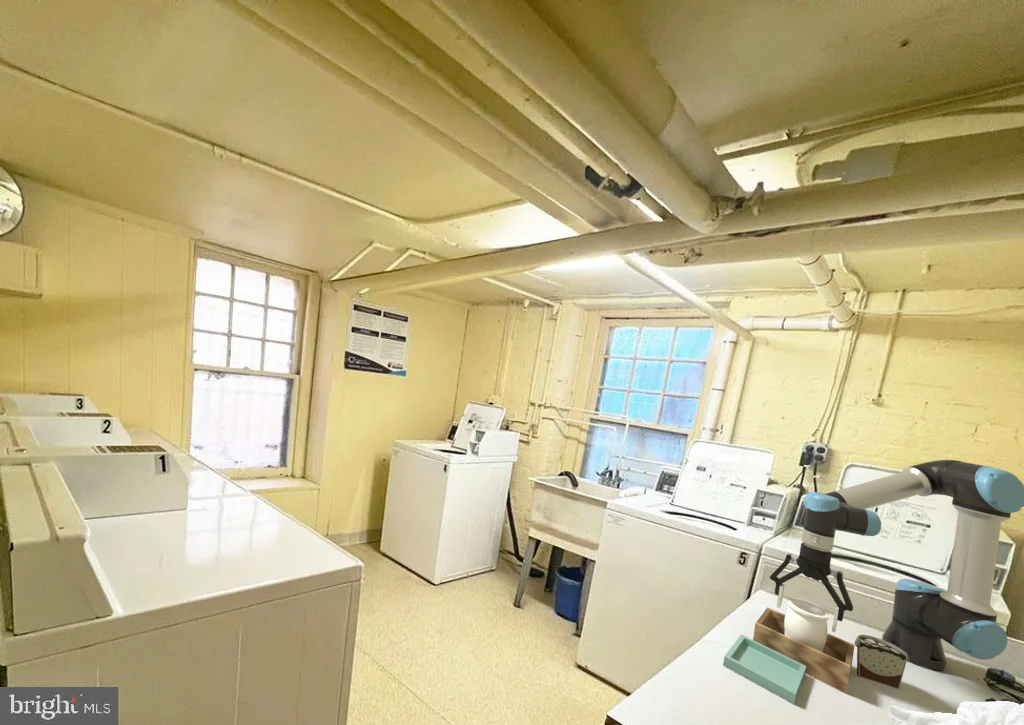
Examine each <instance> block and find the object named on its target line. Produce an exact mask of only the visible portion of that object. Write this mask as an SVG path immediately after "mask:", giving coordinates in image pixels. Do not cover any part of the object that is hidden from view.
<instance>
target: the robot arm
mask: <svg viewBox="0 0 1024 725" xmlns="http://www.w3.org/2000/svg"><path fill="white" fill-rule="evenodd" d="M932 495H939V496H946V497H951V498H952V502H951V506H952V507H953V508H954V509H955V510H956V511H957V519H956V527H955V533H954V534H955V535H954V541H953V549H952V554H951V561H950V569H949V576H948V582H947V584H948V585H947V589H946V590H945V589H944V588H941V587H939V586H936V585H934V584H930V583H927V582H923V581H919V580H915V579H909V578H899V579H898V580H897V584H896V588H895V590H894V599H893V608H892V609H893V610H892V618H891V621H890V623H889V624H888V626H887V627H886V629H885V630H884V632H883V633H882V637H881V639H882V640H884V641H886V642H889V643H891V644H893V645H895V646H896V647H898V648H900V649H901V650H903V651H904V652H906V653H907V654H908V657H909V663H910V662H911V663H913V664H915V665H916V666H917V665H918V666H920V667H923V668H926V667H927V669H929V668H931V669H930V670H933V669H936V670H935V671H944V670H943V669H945V668H946V669H947V658H946V657H947V656H946V654H945V651H944V648H943V642H942V640H943V641H945V642H946V643H948V644H949V645H951V646H953V647H954V648H955V649H956V650H958V651H960V652H962V653H964V654H966V655H968V656H970V657H972V658H974V659H977V660H983V661H984V660H991V659H994V658H996V657H997V656H1000V655H1002V654H1003V653H1004V651H1005V650H1006V648H1007V645H1008V640H1009V638H1008V635H1007V632H1006V631H1005V629H1004V628H1003V627H1002V626H1001V625H1000V624H998V623H997V618H998V617H997V616H998V613H997V611H996V610H995V609H994V608H993V607H992V605H991V599H992V592H993V588H994V587H993V586H994V578H995V571H996V564H997V556H998V549H999V548H998V547H999V541H1000V534H1001V527H1002V523H1003V522H1006V521H1008V520H1011V514H1013V513H1018V512H1019V511H1021V510H1022V508H1024V483H1023V482H1022V481H1021V480H1020V479H1019V478H1018V476H1016V475H1015V474H1013V473H1012V472H1010V471H1008V470H1005V469H1000V468H998V467H993V466H988V465H982V464H975V463H972V462H965V461H961V460H955V459H940V460H939V459H937V460H932V461H927V462H922V463H918V464H914V465H911V466H910V465H909V466H907V467H905V468H903V469H902V472H899V473H898V472H897V473H895V474H891V475H888V476H884V477H880V478H877V479H873V480H870V481H867V482H862V483H859V484H856V485H852V486H849V487H848V486H847V487H845V488H841V489H837V490H833V491H831V492H827V493H821V492H817V491H812V492H808V493H807V494H806V495H805V496H804V498H803V502H802V503H803V507H804V509H805V515H804V524H803V530H802V535H801V541H802V542H801V543H800V547H799V548H800V549H799V556H798V557H797V556H794V555H793V554H792V553H790V552H788V553H787V554H786V556H785V559H784V560H783V562H782V563H781V564H780V565H779V566H778V567H777V568H776V570H774V571H773V572H772V573H771V575H770V576H769V579H770V580H771V581H773V582H774V583H775V588H774V594H775V595H777V596H778V597H777V601H776V602H777V604H776V608H778V609H780V608H781V606H782V603H783V597H784V590H785V584H784V583H786V582H788V581H790V580H791V579H793V578H795V577H797V576H799V575H801V574H802V575H803V576H804V577H806V578H811V579H812V580H814V581H820V582H821V583H822V584H823V586H824V587H825V589H826V591H827V592H828V594H829V595H830V596H831V598H832V599H833V601H834V603H835V604H836V605H835V608H834V615H833V620H832V628H831V632H833V633H836V631H837V626H838V622H843V620H844V613H845V611H849V612H853V610H854V606H853V603H852V600H851V598H850V594H849V593H848V590H847V588H846V584H845V583H844V582H845V581H844V579H843V578H844V573H843V572H842V571H841V570H833V569H831V561H832V554H833V553H832V551H833V550H834V548H833V547H834V541H835V536H836V531H837V532H838V531H839V532H845V533H849V534H855V535H859V536H865V537H875V536H877V535H879V534H880V532H881V530H882V521H881V518H880V516H879V515H878V514H877V513H876V512H875V511H873V510H870V508H871V509H872V508H876V507H877V506H882V505H885V504H890V503H893V502H897V501H901V500H904V499H907V498H912V497H915V496H920V497H928V496H932ZM794 562H796V564H797V566H798V567H797V568H796V569H794V570H792V571H790V572H789V573H788V572H787V574H785V575H783V576H781V577H780V578H779V577H778V576H779V575H780V574H781V573H782V572H783V571H784V570H785V568H786V567H787V566H788V565H789V564H790V563H791V564H793V563H794ZM831 575H832V578H833V579H835V580H836V583H837V586H838V588H839V591H840V593H841V595H842V598H843V600H842V599H841V597H840V596H839V595H838V592H837V591H836V590H835V588H834V587H833V584H832V583H831V582H830V580H829V578H828V576H831ZM946 669H945V670H946Z"/></svg>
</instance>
